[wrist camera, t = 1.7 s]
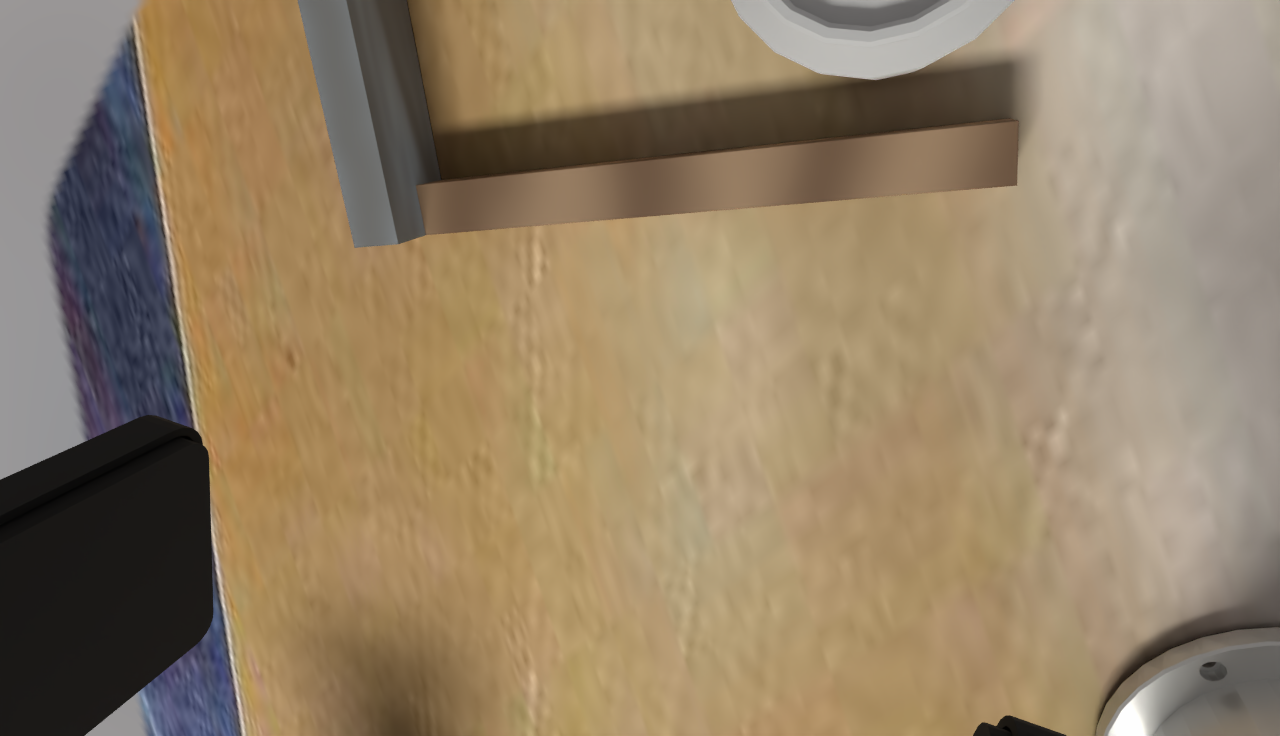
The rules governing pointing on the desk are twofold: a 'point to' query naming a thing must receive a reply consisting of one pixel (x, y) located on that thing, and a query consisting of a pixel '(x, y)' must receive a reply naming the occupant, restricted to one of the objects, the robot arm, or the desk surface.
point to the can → (867, 32)
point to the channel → (674, 184)
